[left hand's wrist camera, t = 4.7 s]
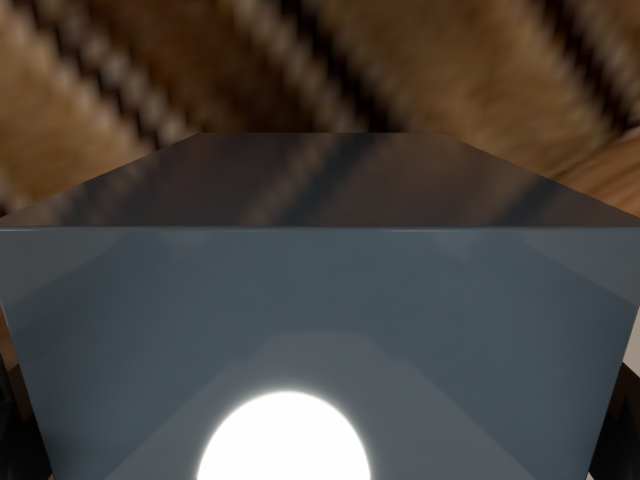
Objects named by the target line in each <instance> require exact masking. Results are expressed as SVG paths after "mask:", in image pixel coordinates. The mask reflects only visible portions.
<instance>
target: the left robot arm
mask: <svg viewBox="0 0 640 480" xmlns="http://www.w3.org/2000/svg"><path fill="white" fill-rule="evenodd" d="M588 472H589V473H590V474H591V476H592V477H593V479H594V480H640V377H639V376H637V375H636V374H635V373H634V372H633V371H632V370H631V369H630V368H629V367H628V366H627V365H626V364H625V363H623V362H622V364H621V368H620V371H619V374H618V377H617V381H616V384H615V387H614V390H613V393H612V397H611V400H610V403H609V406H608V410H607V413H606V416H605V419H604V423H603V426H602V429H601V432H600V436H599V439H598V442H597V445H596V449H595V452H594V455H593V458H592V462H591V465H590V468H589V471H588ZM51 474H52V470H51V466H50V463H49V460H48V457H47V453H46V450H45V447H44V444H43V440H42V437H41V434H40V431H39V427H38V424H37V421H36V418H35V414H34V411H33V408H32V405H31V401H30V398H29V395H28V392H27V388H26V385H25V382H24V379H23V375H22V372H21V369H20V366H19V363H18V364H17V365H16V366H15V367H14V368H13V369H12V370H11V371H9V372H8V373H7V371H6V368H5V365H4V362H3V359H2V356H1V354H0V480H48V479H49V477H50V476H51Z"/></svg>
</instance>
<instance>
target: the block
mask: <svg viewBox="0 0 640 480" xmlns="http://www.w3.org/2000/svg"><path fill="white" fill-rule="evenodd" d="M0 304H1V307H2V310H3V314H4V317H5V320H6V323H7V327H8V330H9V333H10V336H11V340H12V343H13V346H14V349H15V353H16V356H17V359H18V362H19V366H20V369H21V372H22V375H23V379H24V382H25V385H26V388H27V392H28V395H29V398H30V401H31V405H32V408H33V411H34V414H35V418H36V421H37V424H38V427H39V431H40V434H41V437H42V440H43V444H44V447H45V450H46V453H47V457H48V460H49V463H50V466H51V470H52V473H53V476H54V479H55V480H586V478H587V475H588V471H589V468H590V465H591V462H592V458H593V455H594V452H595V449H596V445H597V442H598V439H599V436H600V432H601V429H602V426H603V423H604V419H605V416H606V413H607V410H608V406H609V403H610V400H611V397H612V393H613V390H614V387H615V384H616V381H617V377H618V374H619V371H620V368H621V364H622V361H623V358H624V354H625V351H626V348H627V345H628V341H629V338H630V335H631V332H632V328H633V325H634V322H635V319H636V316H637V312H638V309H639V306H640V218H639V217H636V216H634V215H632V214H629V213H627V212H625V211H622V210H620V209H618V208H615V207H613V206H611V205H608V204H606V203H604V202H601V201H599V200H597V199H594V198H592V197H590V196H587V195H585V194H583V193H580V192H578V191H576V190H573V189H571V188H569V187H566V186H564V185H561V184H559V183H557V182H554V181H552V180H550V179H547V178H545V177H543V176H540V175H538V174H536V173H533V172H531V171H529V170H526V169H524V168H522V167H519V166H517V165H515V164H512V163H510V162H508V161H505V160H503V159H501V158H498V157H496V156H494V155H491V154H489V153H487V152H484V151H482V150H480V149H477V148H475V147H473V146H470V145H468V144H466V143H463V142H461V141H459V140H456V139H454V138H452V137H449V136H447V135H445V134H442V133H198V134H196V135H193V136H191V137H189V138H186V139H184V140H182V141H179V142H177V143H175V144H172V145H170V146H168V147H165V148H163V149H161V150H158V151H156V152H154V153H151V154H149V155H147V156H144V157H142V158H140V159H137V160H135V161H133V162H130V163H128V164H126V165H123V166H121V167H119V168H116V169H114V170H112V171H109V172H107V173H105V174H102V175H100V176H98V177H95V178H93V179H91V180H88V181H86V182H84V183H81V184H79V185H77V186H74V187H72V188H70V189H67V190H65V191H63V192H60V193H58V194H56V195H53V196H51V197H49V198H46V199H44V200H42V201H39V202H37V203H35V204H32V205H30V206H28V207H25V208H23V209H21V210H18V211H16V212H14V213H11V214H9V215H7V216H4V217H2V218H0Z"/></svg>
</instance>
